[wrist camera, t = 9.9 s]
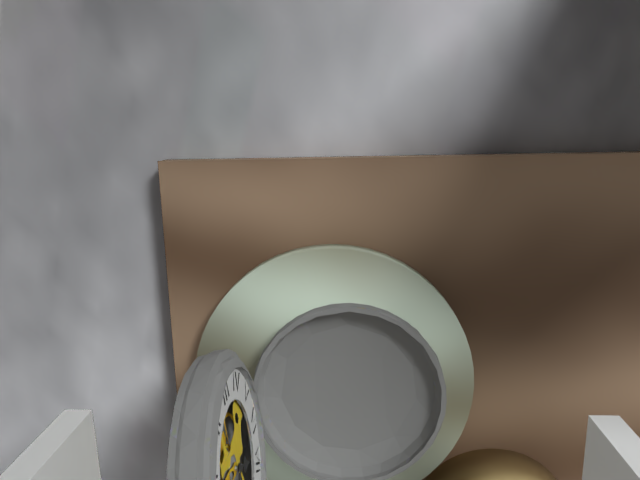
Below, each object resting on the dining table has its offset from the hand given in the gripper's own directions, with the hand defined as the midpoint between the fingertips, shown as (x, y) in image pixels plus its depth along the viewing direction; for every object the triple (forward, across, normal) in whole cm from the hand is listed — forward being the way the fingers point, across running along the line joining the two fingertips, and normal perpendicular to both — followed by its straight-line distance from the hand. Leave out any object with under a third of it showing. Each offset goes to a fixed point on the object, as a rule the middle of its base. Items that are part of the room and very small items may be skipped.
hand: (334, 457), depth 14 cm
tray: (+7, +3, -4) cm, 8 cm away
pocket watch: (+5, -1, 0) cm, 5 cm away
